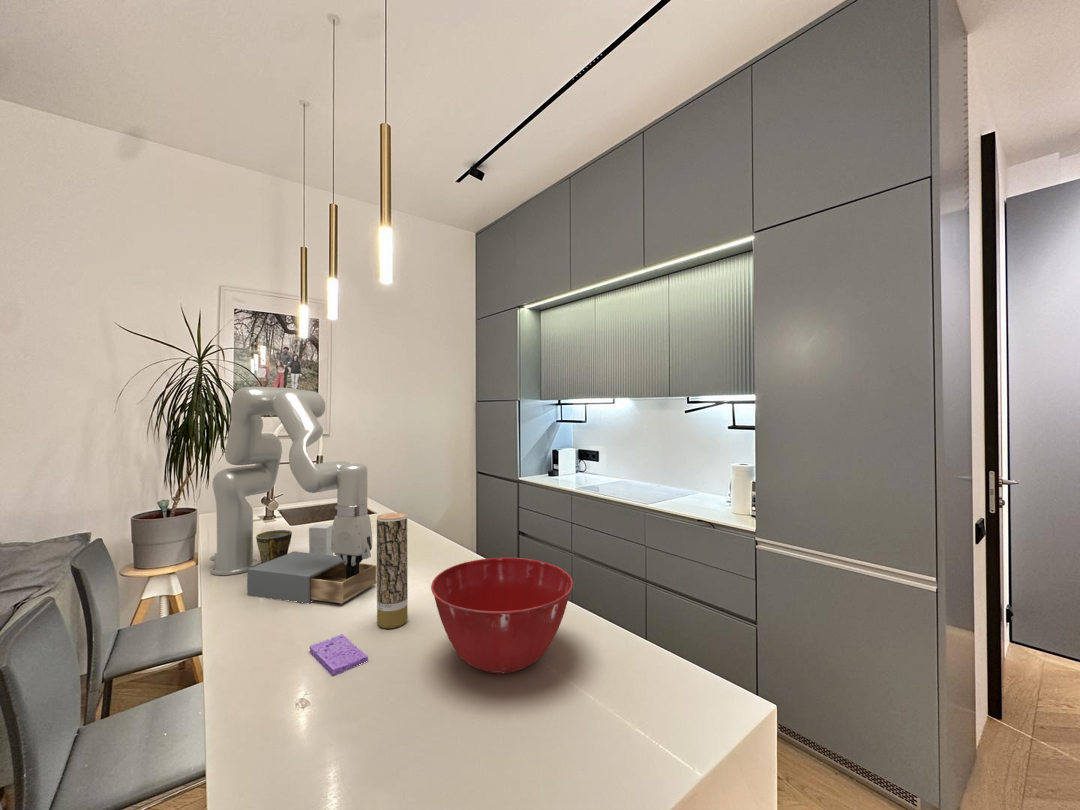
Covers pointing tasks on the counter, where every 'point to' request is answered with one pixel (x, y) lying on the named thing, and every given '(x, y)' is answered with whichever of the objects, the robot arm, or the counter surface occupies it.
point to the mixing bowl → (501, 610)
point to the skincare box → (320, 539)
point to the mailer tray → (342, 583)
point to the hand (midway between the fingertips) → (352, 578)
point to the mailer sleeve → (288, 576)
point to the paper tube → (392, 570)
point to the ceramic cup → (273, 544)
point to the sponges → (338, 654)
